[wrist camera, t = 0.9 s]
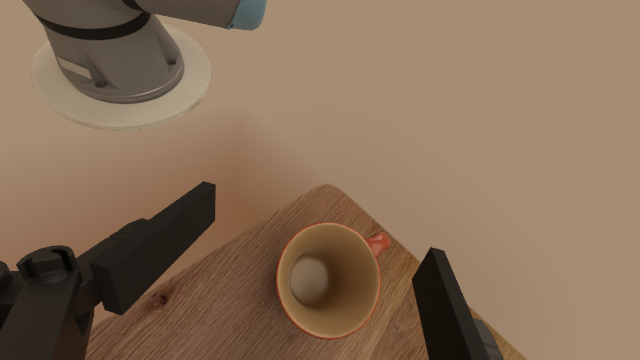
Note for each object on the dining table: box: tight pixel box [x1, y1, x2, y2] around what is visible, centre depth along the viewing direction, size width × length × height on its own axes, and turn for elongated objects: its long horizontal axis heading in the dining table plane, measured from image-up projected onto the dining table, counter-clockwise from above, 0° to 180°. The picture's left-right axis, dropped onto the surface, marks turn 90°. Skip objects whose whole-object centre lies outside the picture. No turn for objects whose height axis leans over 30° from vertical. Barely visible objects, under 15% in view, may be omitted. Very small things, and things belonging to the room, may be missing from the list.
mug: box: [276, 222, 391, 340], centre depth 24 cm, size 12×9×10 cm
